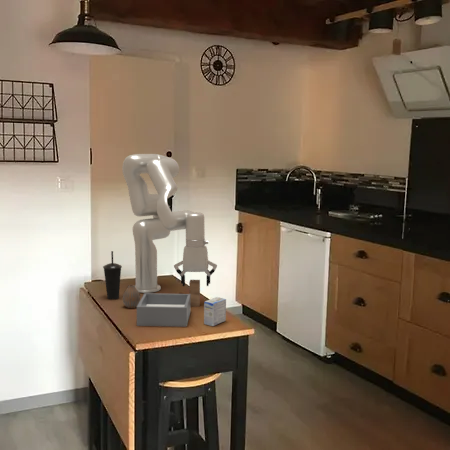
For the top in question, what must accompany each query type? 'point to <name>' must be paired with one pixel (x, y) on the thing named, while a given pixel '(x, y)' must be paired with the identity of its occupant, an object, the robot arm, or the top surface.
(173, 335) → the top surface
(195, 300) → the peg
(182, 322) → the open box
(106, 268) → the drinking cup
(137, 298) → the vase
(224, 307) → the medicine box
